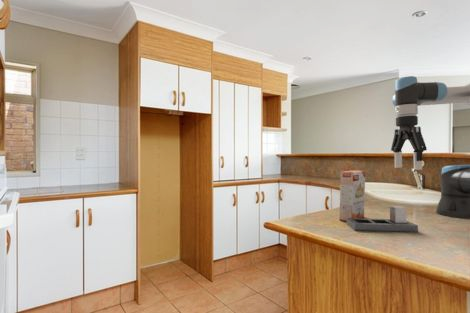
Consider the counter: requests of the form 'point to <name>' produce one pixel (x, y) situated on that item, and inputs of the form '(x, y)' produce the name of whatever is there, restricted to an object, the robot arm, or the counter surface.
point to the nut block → (398, 214)
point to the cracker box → (352, 194)
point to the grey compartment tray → (380, 225)
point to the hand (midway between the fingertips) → (407, 168)
